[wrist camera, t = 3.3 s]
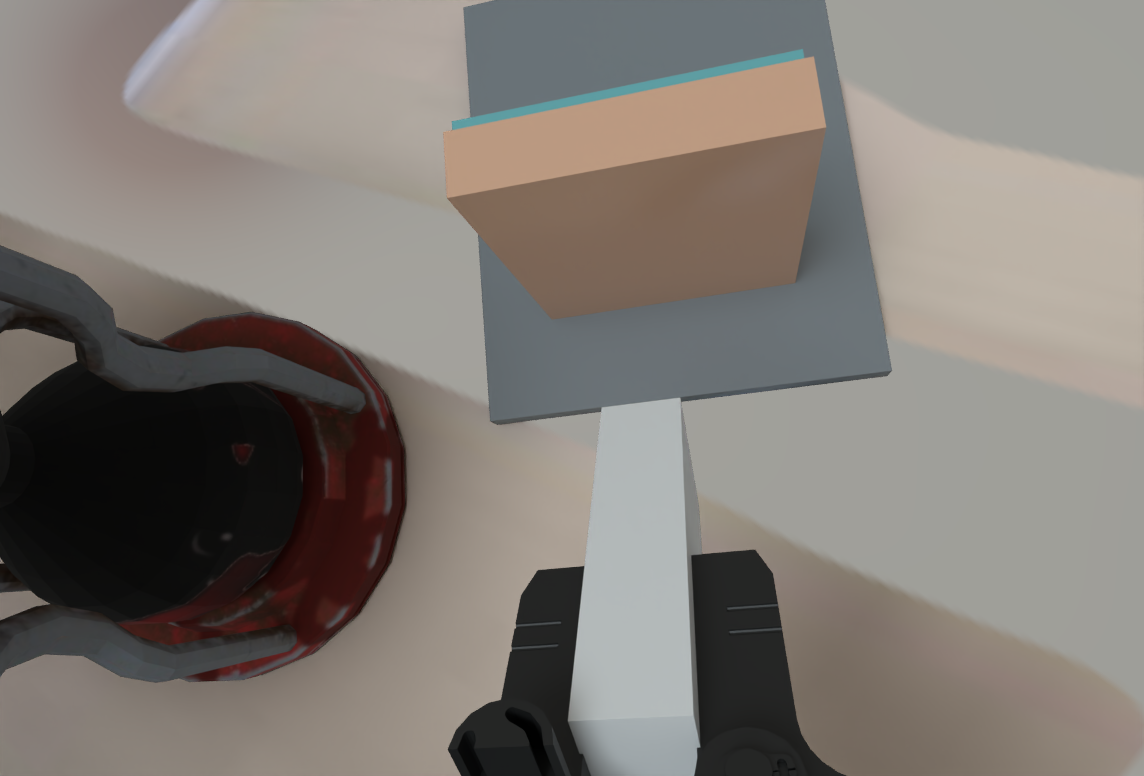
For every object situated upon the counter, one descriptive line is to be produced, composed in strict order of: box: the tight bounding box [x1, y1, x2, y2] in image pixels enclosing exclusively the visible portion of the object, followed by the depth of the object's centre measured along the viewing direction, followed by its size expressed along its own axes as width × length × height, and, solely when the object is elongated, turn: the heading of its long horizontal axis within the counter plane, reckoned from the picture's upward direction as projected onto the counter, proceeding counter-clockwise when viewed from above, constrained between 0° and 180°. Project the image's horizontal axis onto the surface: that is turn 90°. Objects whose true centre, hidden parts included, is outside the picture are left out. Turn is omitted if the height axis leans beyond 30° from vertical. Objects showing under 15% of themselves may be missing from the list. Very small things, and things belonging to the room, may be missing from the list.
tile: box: [443, 49, 826, 320], centre depth 26 cm, size 2×10×12 cm, turn 95°
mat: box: [464, 0, 892, 425], centre depth 33 cm, size 20×16×1 cm
